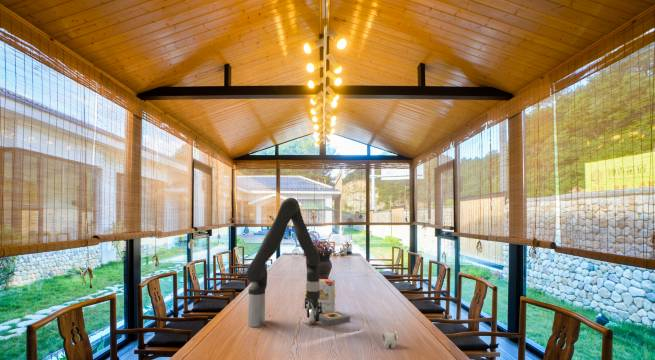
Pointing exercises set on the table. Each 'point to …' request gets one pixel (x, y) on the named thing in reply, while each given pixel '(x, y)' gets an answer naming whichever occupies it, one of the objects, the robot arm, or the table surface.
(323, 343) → the table surface
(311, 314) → the steel peg
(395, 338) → the elephant figurine
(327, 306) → the cracker box
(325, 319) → the hole block
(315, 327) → the brown rectangular block
